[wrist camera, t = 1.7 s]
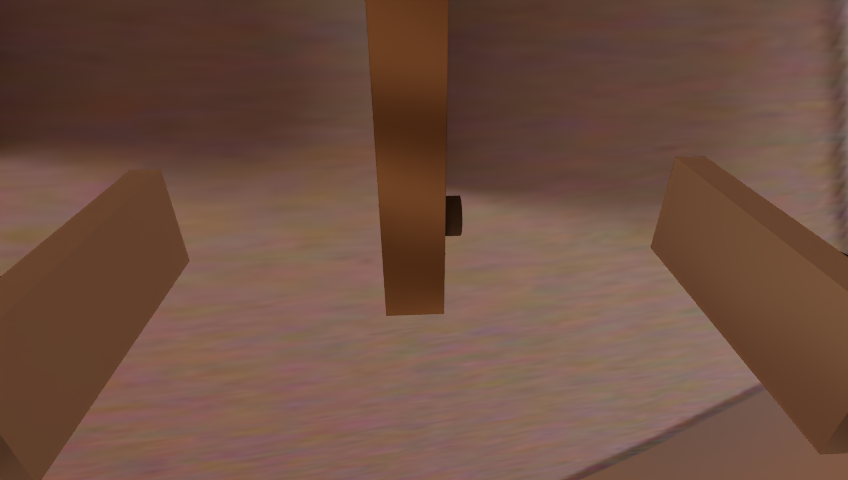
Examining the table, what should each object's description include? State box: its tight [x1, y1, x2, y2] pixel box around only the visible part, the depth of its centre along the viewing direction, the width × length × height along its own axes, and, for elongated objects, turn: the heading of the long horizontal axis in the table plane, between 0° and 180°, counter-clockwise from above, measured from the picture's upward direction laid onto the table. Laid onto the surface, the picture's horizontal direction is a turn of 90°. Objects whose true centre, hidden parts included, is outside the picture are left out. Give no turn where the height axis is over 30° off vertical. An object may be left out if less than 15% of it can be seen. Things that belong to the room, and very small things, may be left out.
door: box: [366, 0, 462, 316], centre depth 27 cm, size 21×4×16 cm, turn 1°
